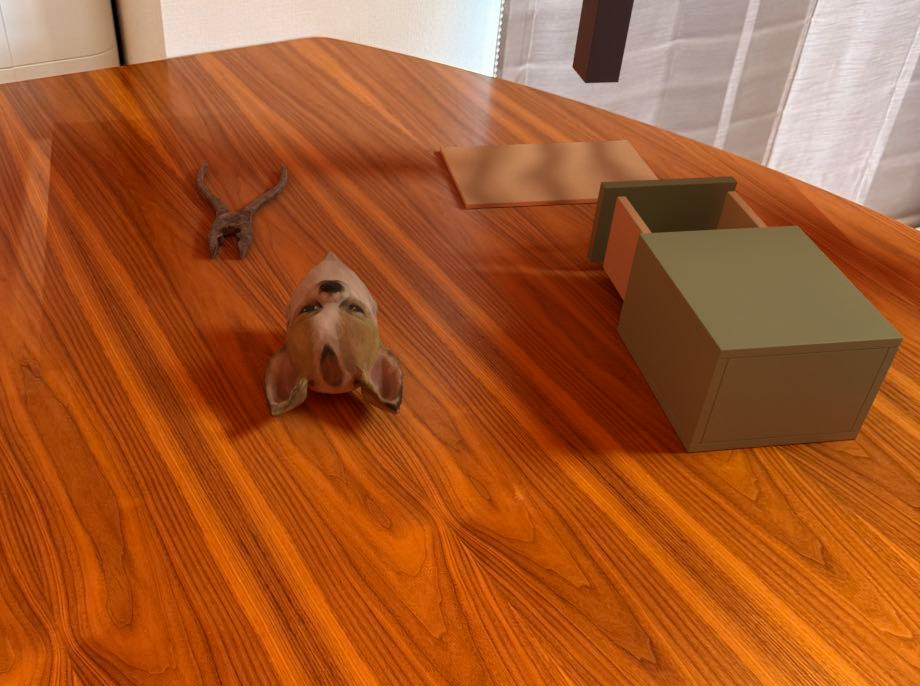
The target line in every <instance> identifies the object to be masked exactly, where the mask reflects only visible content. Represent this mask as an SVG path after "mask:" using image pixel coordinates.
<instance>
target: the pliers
mask: <svg viewBox="0 0 920 686" xmlns="http://www.w3.org/2000/svg"><path fill="white" fill-rule="evenodd" d="M208 169H209V164H208V162H207V161H205V162H203V163H202V164H201V166H200V168H199V169H198V170H197V173H196V178H195V183H196V188H197V190H198V192H199V193H200V195H201V196H202V197H203V198H204V199H205V200H206V201H207V203H209V205H210V206H211V207H212V208H213V209H214V212H215V213H216V214H215V218H214V220H213V221H212V224H211V226H210V228H209V230H208V233H207V234H206V237H207V238H206V240H207V245H208V248H209V249H208V250H209V255H210V258H211V259H214V258H215V257H216V255H217V254H218V252H219V247H220V246H221V245H223V244H224V242H225V238H224V237H227V236H229V235H234V236H235V240H236V245H237V249H238V254H239V258H240V259H244V258H245V255H246V253H247V252H248V249H249V248H250V246H251V244H252V243H253V240H254V236H253V235H254V234H253V231H252V222H253V218H254V215H255V213H256V212H257V211H259V210H260V209H261V208H263V207H264V206H265V205H266V204H268V203H269V202H271V201H272V200H273V199H275V198H276V197H277V196H278V195H280V194H281V192H282V191H283V190H284V189H285V187H286V185H287V182H288V178H289V177H288V169H287V166H286V164H284V163H281V164H280V165H279V169H280V174H281V175H280V179H279V180H278V182H277V184H276V185H275V186H274V187H273V188H271V189H270V190H268V191H266V192H265V193H263V194H261V195H260V196H258V197H257V198H256V199H254V200H252V201H251V202H249V203H248V204H247V205H245V206H244V207H243V208H241V210H238V211H231V210H229V208H228V207H227V205H226V204H225V203H224V201H222V200H221V199H220V198H219V197H218V196H216V195H215V193H213V192H212V191H211V190H210V189H208V187H207V186H206V185H205V183H204V176H205V174H206V172H207V171H208Z"/></svg>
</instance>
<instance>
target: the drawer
mask: <svg viewBox="0 0 920 686" xmlns="http://www.w3.org/2000/svg"><path fill="white" fill-rule="evenodd" d="M737 185H738V181H737V180H736V179H735V177H734V176H732V175H731V176H728V175H727V176H709V177H684V178H665V179H663V178H662V179H659V180H638V181H615V182H601V185H600V190H599V195H598V201H597V203H596V206H595V212H594V217H593V223H592V226H591V227H592V228H591V232H590V238H589V243H588V248H587V252H586V258H587V260H588V261H589V263H590V264H596V263H597V264H599V263H602V268H603V270H604V271H605V273H606V275H607V276H608V278H609V280H610V281H611V283H612V285H613V286H614V287H615V290H616V291H617V293H618V294H619V296H620V297H621V299H622V302H624V298H625V293H626V289H627V284H628V280H629V276H630V271H631V267H632V263H633V258H634V254H635V249H636V245H637V241H638V237H639V234H642V233H661V232H681V231H700V230H720V229H739V228H758V227H768V225H767V224H766V223H765V222H764V221H763V220H762V219H761V218H760V216H759V215H758V214H757V213H756V212H755V211H754V210H753V209H752V207H751V206H750V205H749V204H748V203H747V202H746V201H745V200H744V199H743V198H742V197H741V196H740V194H739V193H738V192H737V191H736V189H737Z"/></svg>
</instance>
